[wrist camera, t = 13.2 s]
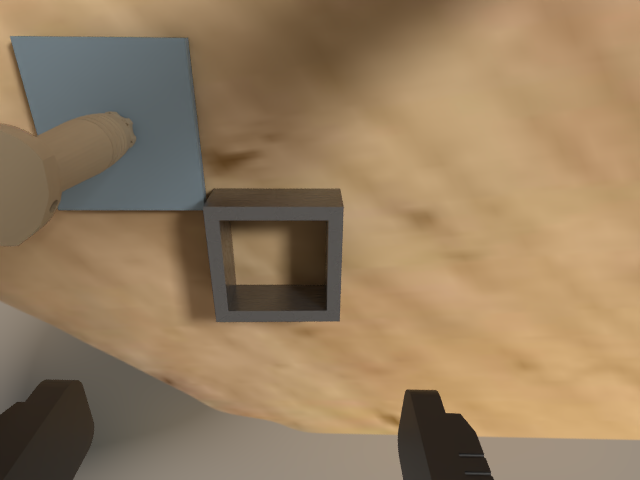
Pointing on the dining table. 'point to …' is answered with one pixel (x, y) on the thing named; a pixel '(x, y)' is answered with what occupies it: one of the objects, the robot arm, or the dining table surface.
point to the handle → (53, 167)
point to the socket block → (273, 299)
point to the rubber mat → (122, 114)
